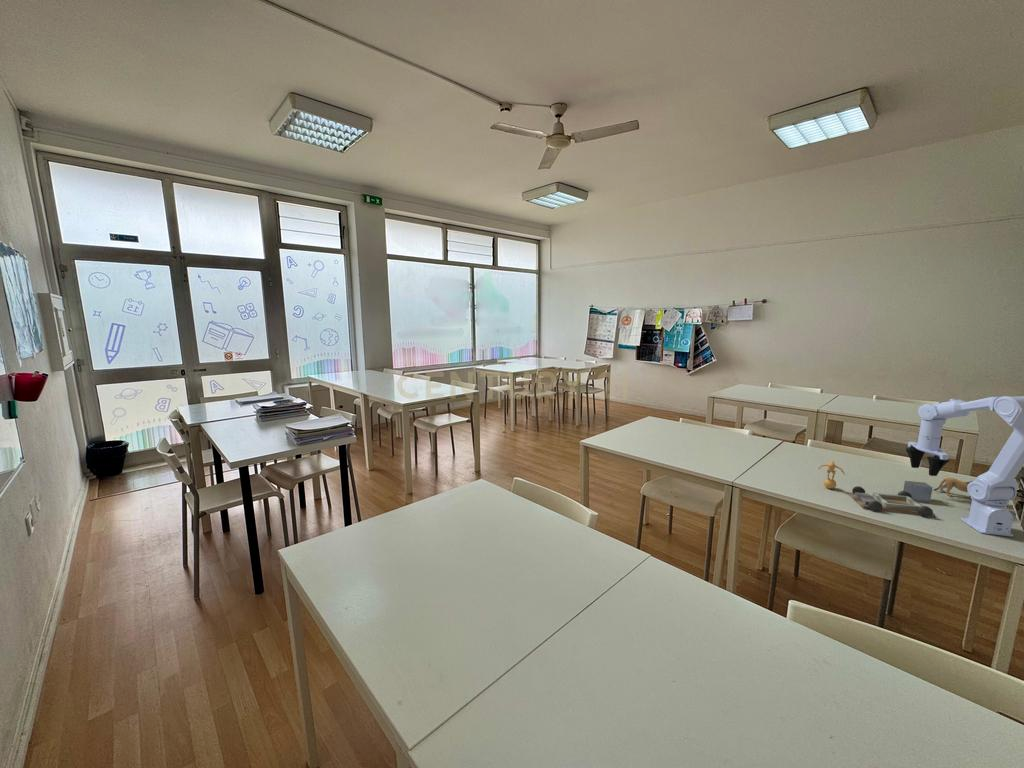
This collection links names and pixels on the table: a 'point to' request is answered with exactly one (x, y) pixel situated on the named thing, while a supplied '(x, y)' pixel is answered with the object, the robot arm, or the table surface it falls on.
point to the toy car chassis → (890, 502)
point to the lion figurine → (953, 482)
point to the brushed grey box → (918, 491)
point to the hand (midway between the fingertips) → (923, 471)
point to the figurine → (830, 482)
